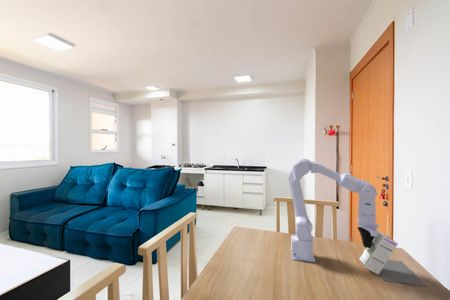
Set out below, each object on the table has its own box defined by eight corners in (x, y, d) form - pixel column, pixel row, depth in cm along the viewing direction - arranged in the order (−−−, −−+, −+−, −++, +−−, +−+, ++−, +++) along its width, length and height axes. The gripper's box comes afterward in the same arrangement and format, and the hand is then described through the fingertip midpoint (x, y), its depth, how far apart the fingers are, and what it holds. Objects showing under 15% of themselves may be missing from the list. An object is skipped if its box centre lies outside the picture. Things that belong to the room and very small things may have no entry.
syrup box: (378, 275, 80) (399, 244, 78) (363, 266, 81) (384, 235, 79) (371, 266, 85) (390, 237, 84) (357, 258, 86) (376, 229, 85)
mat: (384, 280, 76) (384, 280, 76) (366, 258, 92) (366, 257, 92) (427, 286, 73) (427, 285, 73) (401, 261, 88) (401, 261, 88)
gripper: (387, 220, 75) (387, 257, 75) (370, 208, 89) (370, 239, 89) (365, 218, 76) (365, 255, 77) (352, 207, 90) (352, 238, 91)
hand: (367, 246), depth 83 cm, fingers closed
